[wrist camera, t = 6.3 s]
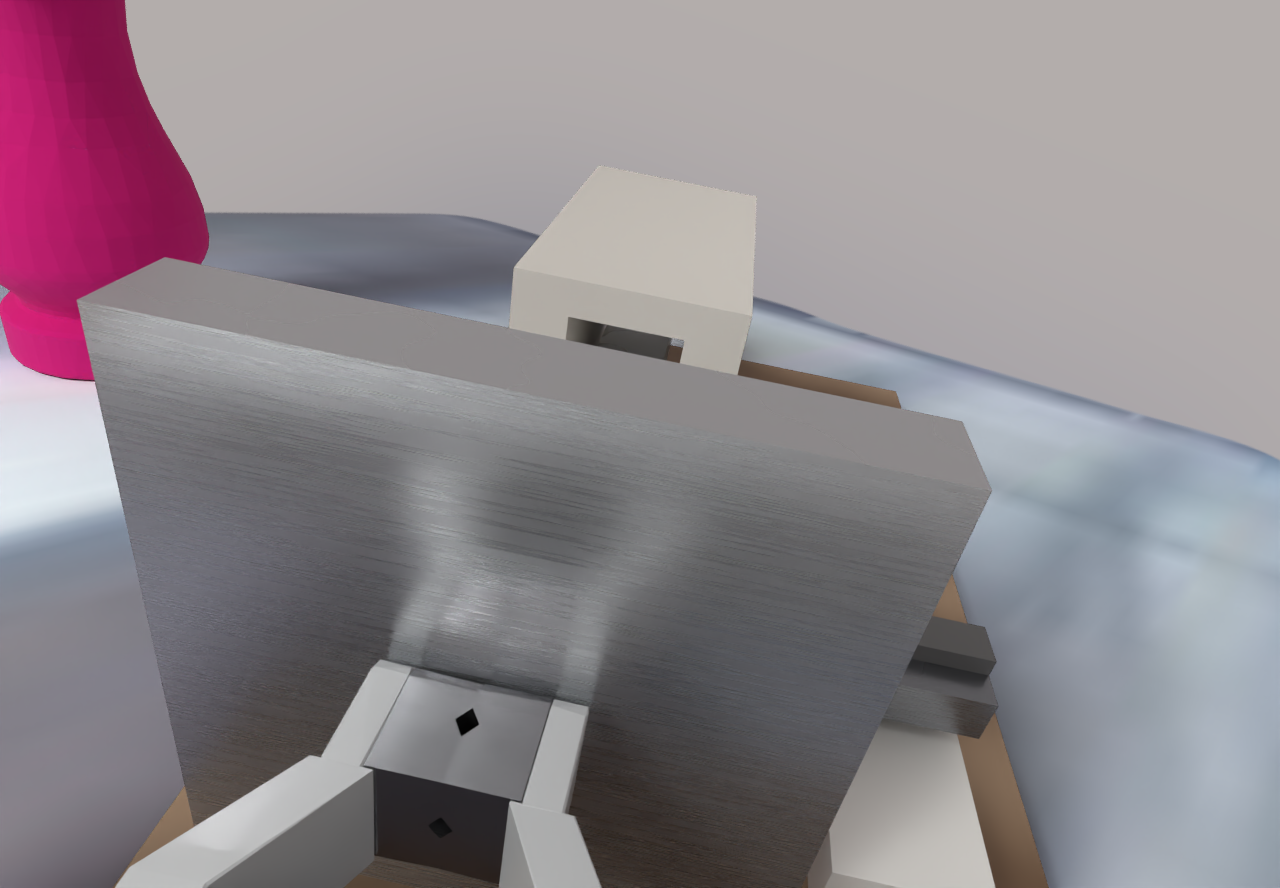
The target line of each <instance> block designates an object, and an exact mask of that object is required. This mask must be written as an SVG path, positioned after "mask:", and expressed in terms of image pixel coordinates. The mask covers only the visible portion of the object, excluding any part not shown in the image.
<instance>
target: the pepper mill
mask: <svg viewBox="0 0 1280 888" xmlns="http://www.w3.org/2000/svg"><path fill="white" fill-rule="evenodd" d="M208 246H209V233H208V228H207V224H206V219H205V214H204V209H203V206H202V203H201V200H200V198H199V196H198V193H197V191H196V188H195V186H194V183H193V180H192V178H191V176H190V174H189V172H188V170H187V169H186V167H185V165H184V163H183V162H182V160H181V158H180V157H179V155H178V153H177V152H176V150H175V148H174V146H173V145H172V143H171V141H170V139H169V138H168V136H167V134H166V133H165V131H164V129H163V127H162V125H161V123H160V122H159V120H158V118H157V116H156V114H155V112H154V110H153V108H152V106H151V104H150V102H149V100H148V97H147V95H146V93H145V90H144V87H143V85H142V82H141V80H140V78H139V75H138V72H137V69H136V65H135V60H134V56H133V52H132V48H131V44H130V40H129V37H128V33H127V24H126V11H125V0H0V284H1V285H2V286H4V287H5V288H7V289H8V290H10V292H9V293H8V294H7V295H6V296H5V297H4V298H3V299H2V301H1V303H0V316H1V319H2V323H3V327H4V330H5V334H6V338H7V341H8V345H9V348H10V351H11V353H12V355H13V356H14V357H15V358H16V359H17V360H18V361H19V362H20V363H21V364H23V365H24V366H26V367H28V368H30V369H33V370H35V371H37V372H40V373H44V374H48V375H52V376H56V377H61V378H70V379H82V380H94V375H93V371H92V366H91V362H90V357H89V353H88V348H87V344H86V340H85V335H84V331H83V326H82V322H81V317H80V313H79V308H78V304H77V299H79V298H81V297H84V296H86V295H88V294H90V293H92V292H94V291H96V290H98V289H100V288H102V287H104V286H106V285H108V284H110V283H112V282H115V281H117V280H119V279H121V278H123V277H125V276H127V275H129V274H131V273H133V272H135V271H137V270H139V269H141V268H143V267H146V266H148V265H150V264H152V263H154V262H156V261H158V260H160V259H162V258H164V257H166V258H171V259H176V260H181V261H186V262H191V263H196V264H201V263H202V261H203V260H204V258H205V255H206V253H207V250H208Z"/></svg>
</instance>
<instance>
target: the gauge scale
mask: <svg viewBox="0 0 1280 888" xmlns="http://www.w3.org/2000/svg"><path fill="white" fill-rule="evenodd" d="M808 888H995V884H994V880H993V876H992V872H991V868H990V864H989V860H988V856H987V852H986V848H985V844H984V840H983V836H982V832H981V828H980V824H979V820H978V816H977V812H976V808H975V804H974V800H973V796H972V792H971V788H970V784H969V780H968V776H967V772H966V768H965V764H964V760H963V756H962V752H961V748H960V744H959V740H958V736H957V734H953V733H949V732H944V731H939V730H935V729H930V728H926V727H921V726H917V725H912V724H907V723H903V722H898V721H894V720H889V719H885V718H883V719H882V721H881V723H880V725H879V727H878V729H877V731H876V733H875V735H874V737H873V739H872V741H871V743H870V746H869V748H868V750H867V752H866V754H865V756H864V758H863V760H862V762H861V764H860V766H859V768H858V771H857V773H856V775H855V777H854V779H853V781H852V783H851V785H850V787H849V789H848V791H847V793H846V795H845V798H844V800H843V802H842V804H841V806H840V808H839V810H838V812H837V814H836V816H835V818H834V820H833V823H832V825H831V827H830V829H829V831H828V833H827V835H826V837H825V839H824V841H823V843H822V845H821V847H820V850H819V852H818V854H817V856H816V858H815V860H814V862H813V864H812V866H811V868H810V870H809V872H808Z"/></svg>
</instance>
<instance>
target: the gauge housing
mask: <svg viewBox="0 0 1280 888" xmlns="http://www.w3.org/2000/svg"><path fill="white" fill-rule="evenodd" d="M756 199H757V197H756V196H751V195H746V194H741V193H736V192H731V191H726V190H721V189H716V188H711V187H706V186H701V185H696V184H691V183H686V182H681V181H676V180H671V179H666V178H661V177H656V176H651V175H646V174H641V173H636V172H630V171H626V170H620V169H616V168H611V167H606V166H601V165H599V166H598V167H597V168H596V170H595V171H594V172H593V173H592V174H591V176H590V177H589V178H588V179H587V180H586V182H585V183H584V184H583V185H582V186H581V188H580V189H579V190H578V191H577V192H576V194H575V195H574V196H573V197H572V198H571V200H570V201H569V202H568V203H567V204H566V206H565V207H564V208H563V209H562V210H561V211H560V213H559V214H558V215H557V216H556V218H555V219H554V220H553V221H552V223H550V225H549V226H548V227H547V228H546V229H545V231H544V232H543V233H542V234H541V235H540V237H539V238H538V239H537V240H536V241H535V243H534V244H533V245H532V246H531V247H530V248H529V250H528V251H527V252H526V253H525V254H524V256H523V257H522V258H521V259H520V260H519V262H518V263H517V264H516V265H515V266H514V270H513V282H512V295H511V307H510V319H509V328H511V329H516V330H521V331H525V332H530V333H535V334H540V335H545V336H550V337H555V338H559V339H564V340H569V341H574V342H579V343H584V344H588V345H593V346H598V344H599V342H600V339H601V337H602V335H603V333H604V330H605V328H606V326H607V325H611V326H616V327H621V328H626V329H631V330H635V331H640V332H645V333H650V334H655V335H660V336H665V337H670V338H674V339H679V340H684V346H683V350H682V355H681V360H680V363H681V364H686V365H690V366H695V367H700V368H705V369H710V370H715V371H719V372H724V373H729V374H734V375H737V374H738V371H739V367H740V363H741V359H742V355H743V351H744V347H745V343H746V339H747V335H748V331H749V327H750V323H751V319H752V310H753V281H754V256H755V255H754V254H755V228H756V201H757V200H756Z"/></svg>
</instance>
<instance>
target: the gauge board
mask: <svg viewBox="0 0 1280 888" xmlns="http://www.w3.org/2000/svg"><path fill="white" fill-rule="evenodd" d="M682 350H683V348H681V347H676V346H671V345H670V349H669V353H668V357H667V361H671V362H676V363H680V360H681V355H682ZM737 375H739V376H744V377H749V378H753V379H758V380H763V381H768V382H773V383H778V384H783V385H787V386H792V387H797V388H802V389H807V390H812V391H816V392H821V393H826V394H831V395H836V396H841V397H846V398H850V399H855V400H860V401H865V402H870V403H875V404H880V405H884V406H889V407H894V408H899V409H901V406H900V403H899V400H898V396H897V393H896V392H895V391H890V390H886V389H881V388H876V387H871V386H866V385H861V384H856V383H852V382H847V381H842V380H837V379H832V378H827V377H822V376H817V375H813V374H808V373H803V372H798V371H793V370H788V369H783V368H779V367H774V366H769V365H764V364H759V363H754V362H749V361H744V360H741V363H740V367H739V371H738V374H737ZM932 616H935V617H940V618H944V619H949V620H954V621H958V622H963V623H967V621H966V617H965V614H964V611H963V608H962V604H961V601H960V598H959V595H958V591H957V588H956V585H955V582H954V578H953V575H951V577H950V579H949V581H948V583H947V585H946V587H945V590H944V592H943V594H942V596H941V598H940V600H939V602H938V604H937V606H936V608H935V610H934V612H933V615H932ZM957 736H958V740H959V744H960V748H961V752H962V756H963V760H964V764H965V768H966V772H967V776H968V780H969V784H970V788H971V792H972V796H973V800H974V804H975V808H976V812H977V816H978V820H979V824H980V828H981V832H982V836H983V840H984V844H985V848H986V852H987V856H988V860H989V864H990V868H991V872H992V876H993V880H994V884H995V888H1049V887H1048V884H1047V880H1046V877H1045V874H1044V871H1043V867H1042V864H1041V861H1040V858H1039V854H1038V851H1037V848H1036V845H1035V841H1034V838H1033V835H1032V832H1031V828H1030V825H1029V822H1028V819H1027V816H1026V812H1025V809H1024V806H1023V803H1022V799H1021V796H1020V793H1019V790H1018V786H1017V783H1016V780H1015V777H1014V773H1013V770H1012V767H1011V764H1010V760H1009V757H1008V754H1007V751H1006V747H1005V744H1004V741H1003V738H1002V734H1001V731H1000V728H999V725H998V721H997V718H996V715H995V713H994V715H993V716H992V718H991V720H990V721H989V723H988V725H987V726H986V728H985V730H984V732H983V733H982V735H981V737H980V738H979V739H976V738H972V737H967V736H962V735H958V734H957ZM193 827H194V825H193V820H192V816H191V811H190V807H189V802H188V798H187V793H186V789H185V786H184V787H183V789H182V790H181V792H180V793H179V795H178V796H177V797H176V799H175V800H174V802H173V803H172V804H171V806H170V807H169V809H168V810H167V811H166V813H165V814H164V816H163V817H162V819H161V820H160V821H159V823H158V824H157V826H156V827H155V828H154V830H153V831H152V833H151V834H150V835H149V837H148V838H147V840H146V841H145V843H144V844H143V845H142V847H141V848H140V850H139V851H138V852H137V854H136V855H135V857H134V858H133V859H132V861H131V862H130V864H129V865H128V866H127V868H126V869H125V871H124V872H123V874H122V875H121V876H120V878H119V879H118V881H117V882H116V883H115V885H114V886H113V888H115V887H116V885H117V884H118V882H119V881H120V880H121V878H122V877H123V875H124V874H125V873H126V871H127V870H128V869H129V867H131V866H132V865H134V864H135V863H137V862H139V861H140V860H142V859H143V858H145V857H147V856H148V855H150V854H151V853H153V852H155V851H156V850H158V849H159V848H161V847H163V846H164V845H166V844H168V843H169V842H171V841H172V840H174V839H176V838H177V837H179V836H180V835H182V834H184V833H185V832H187V831H188V830H190V829H192V828H193ZM344 888H417V887H412V886H408V885H404V884H399V883H395V882H390V881H386V880H382V879H377V878H373V877H369V876H364V875H360V874H358V875H357V876H356V877H355V878H354V879H353V880H351V881H350V882H349V883H348V884H347V885H346V886H345V887H344ZM801 888H808V874H807V877H806V879H805V881H804V883H803V885H802V887H801Z"/></svg>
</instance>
